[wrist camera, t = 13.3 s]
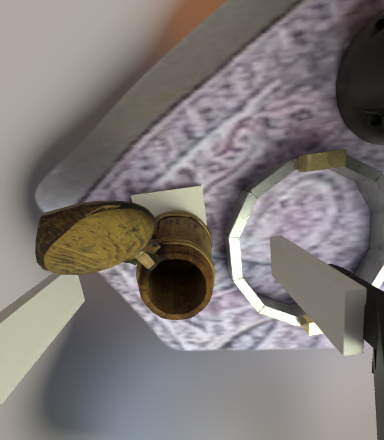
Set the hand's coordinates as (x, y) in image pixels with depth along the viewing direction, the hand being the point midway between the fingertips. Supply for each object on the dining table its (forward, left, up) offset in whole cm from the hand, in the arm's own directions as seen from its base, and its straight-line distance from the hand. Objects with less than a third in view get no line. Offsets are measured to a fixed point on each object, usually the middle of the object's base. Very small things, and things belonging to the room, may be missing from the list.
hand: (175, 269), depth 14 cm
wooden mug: (+1, -1, -14) cm, 14 cm away
